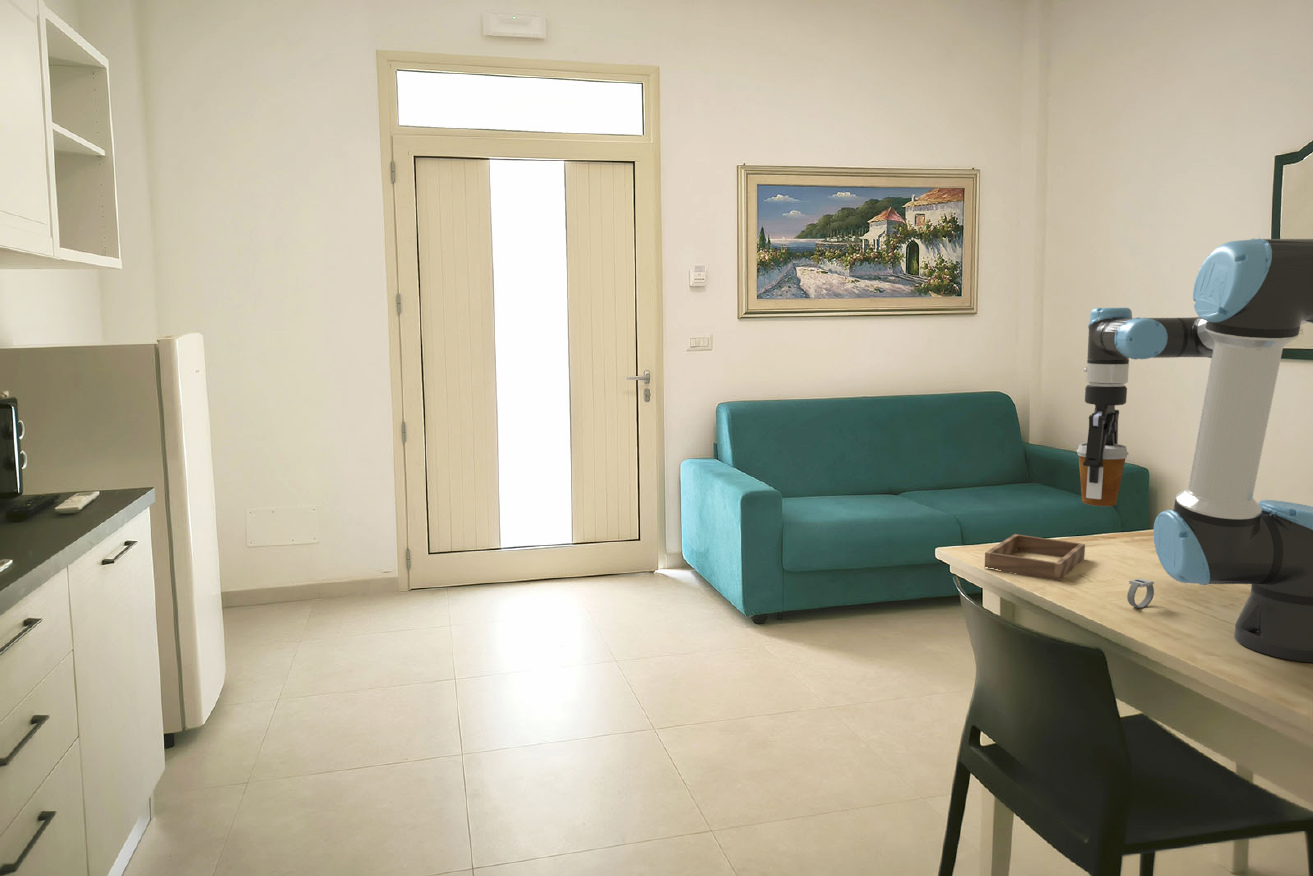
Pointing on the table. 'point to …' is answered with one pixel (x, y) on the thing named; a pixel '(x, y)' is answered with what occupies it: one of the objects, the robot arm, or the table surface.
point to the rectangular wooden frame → (1055, 571)
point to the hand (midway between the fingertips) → (1099, 494)
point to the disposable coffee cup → (1104, 473)
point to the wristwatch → (1133, 588)
